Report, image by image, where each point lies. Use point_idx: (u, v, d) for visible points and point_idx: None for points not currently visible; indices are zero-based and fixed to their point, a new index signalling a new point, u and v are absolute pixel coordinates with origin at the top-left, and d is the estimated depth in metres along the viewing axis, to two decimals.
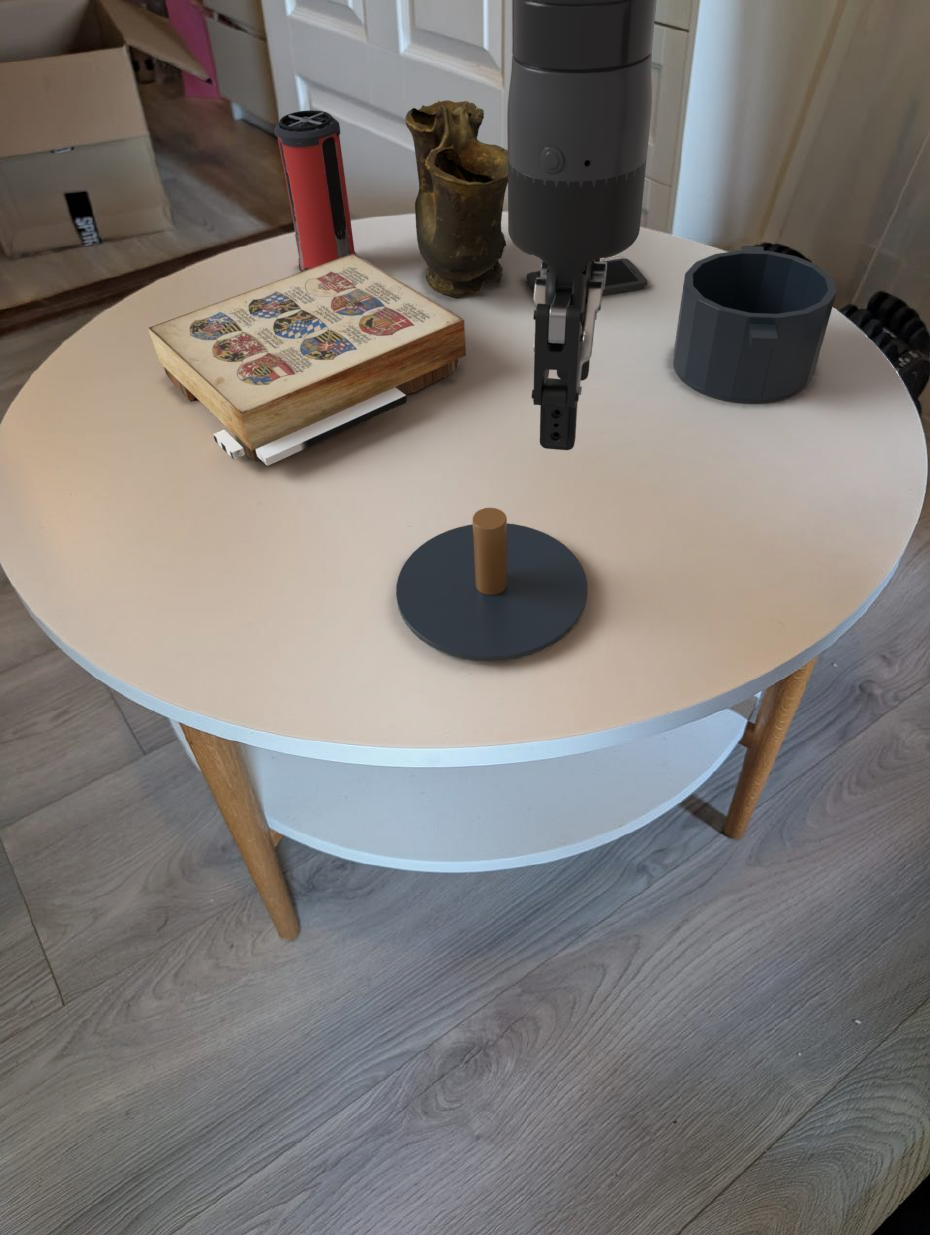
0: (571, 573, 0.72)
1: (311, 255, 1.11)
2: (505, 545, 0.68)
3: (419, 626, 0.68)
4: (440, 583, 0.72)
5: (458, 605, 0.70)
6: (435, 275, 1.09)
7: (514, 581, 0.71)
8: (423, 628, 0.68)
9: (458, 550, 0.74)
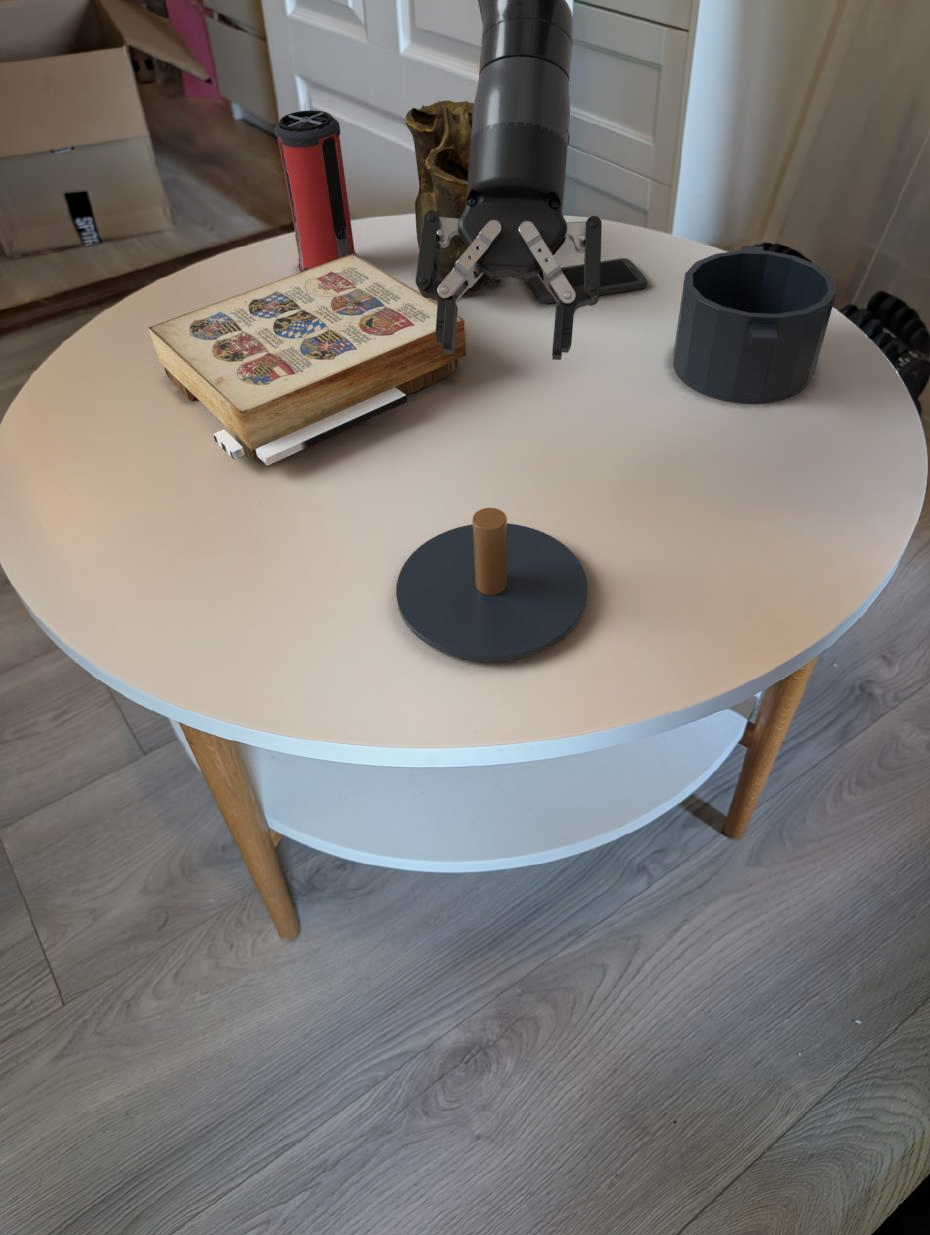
0: (571, 573, 0.72)
1: (311, 255, 1.11)
2: (505, 545, 0.68)
3: (419, 626, 0.68)
4: (440, 583, 0.72)
5: (458, 605, 0.70)
6: None
7: (514, 581, 0.71)
8: (423, 628, 0.68)
9: (458, 550, 0.74)
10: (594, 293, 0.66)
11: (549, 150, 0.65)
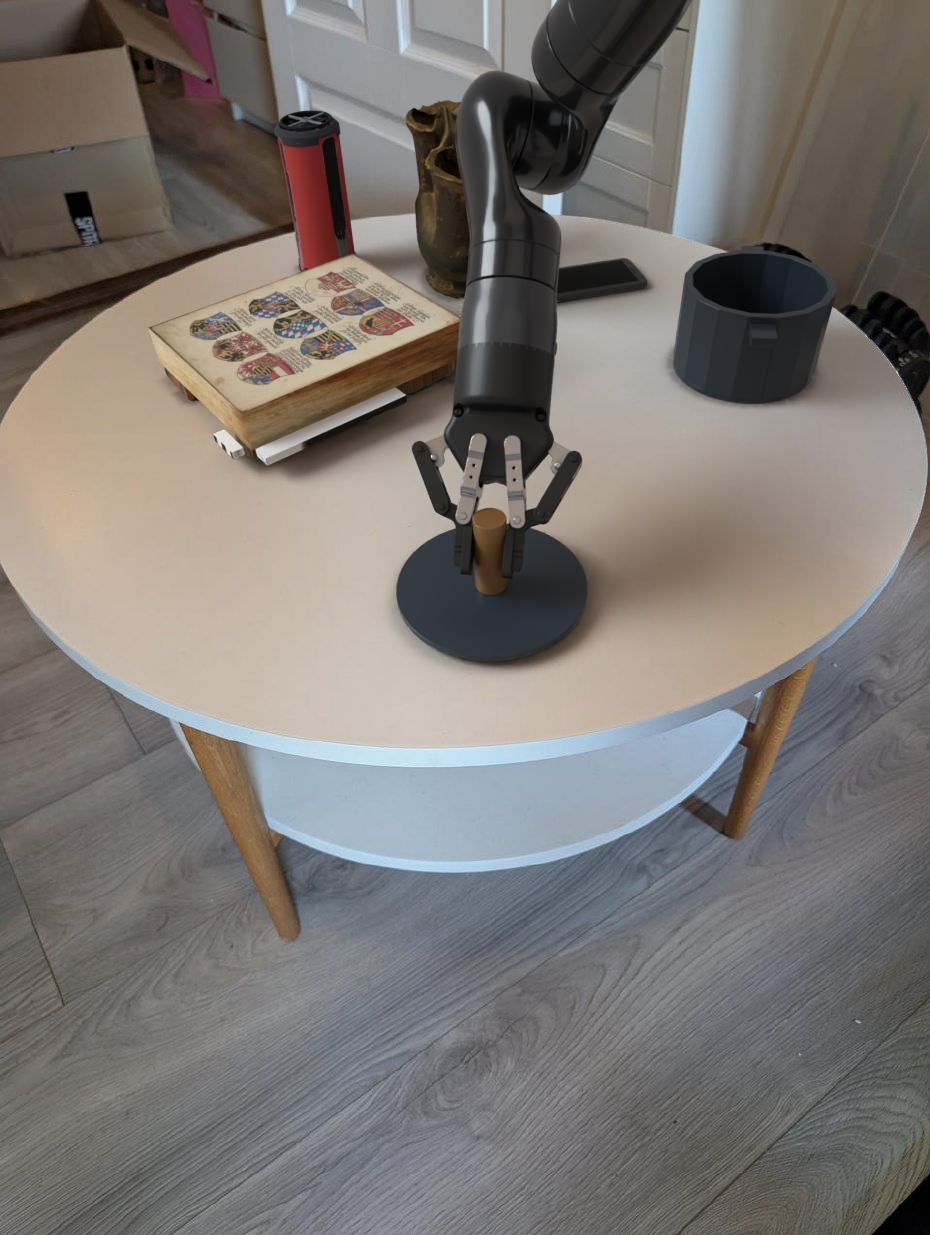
0: (571, 573, 0.72)
1: (311, 255, 1.11)
2: None
3: (419, 626, 0.68)
4: (440, 583, 0.72)
5: (458, 605, 0.70)
6: (435, 275, 1.09)
7: (514, 581, 0.71)
8: (423, 628, 0.68)
9: None
10: (540, 519, 0.66)
11: (534, 368, 0.64)
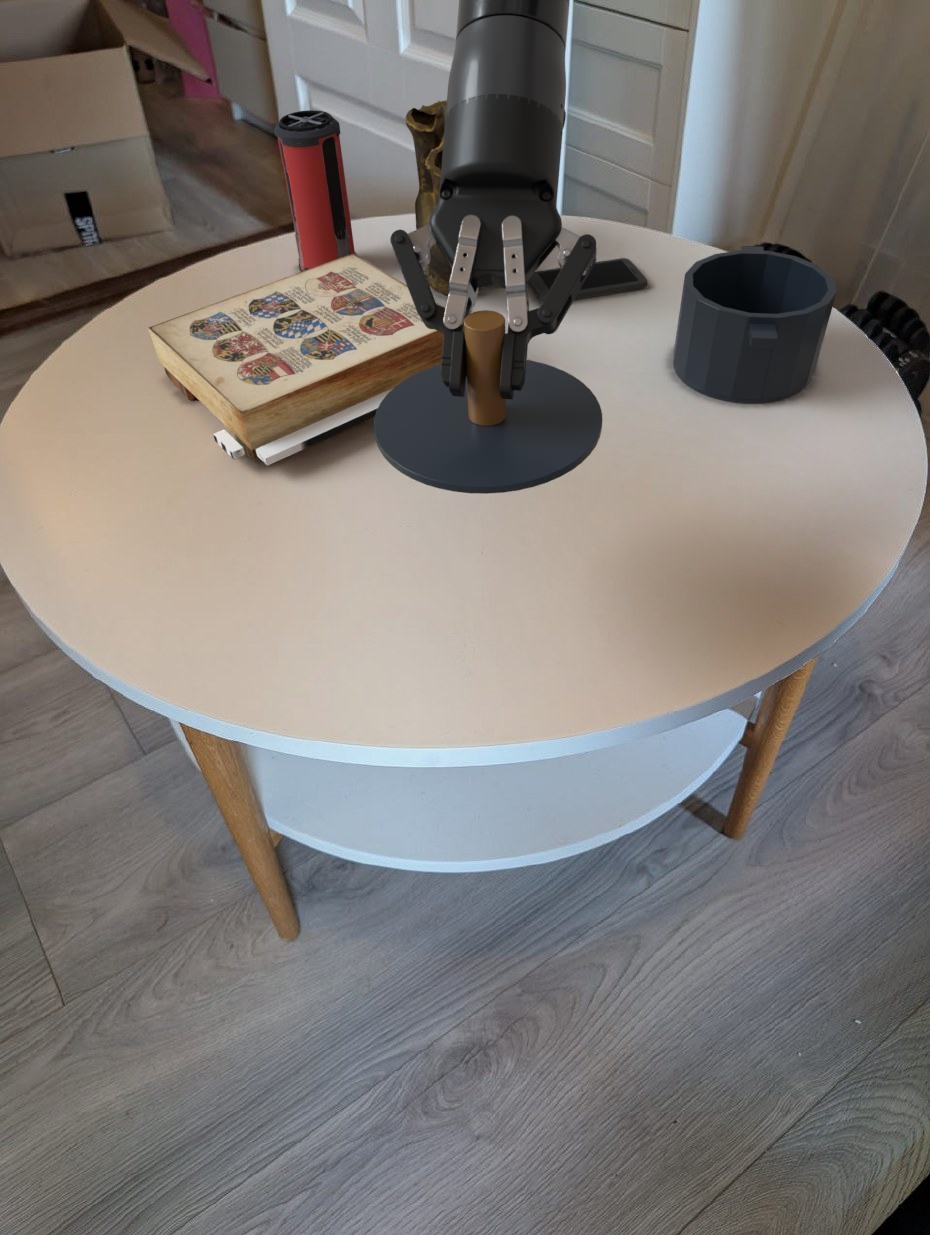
0: (583, 404, 0.60)
1: (311, 255, 1.11)
2: None
3: (400, 457, 0.57)
4: (426, 415, 0.60)
5: (447, 436, 0.58)
6: (435, 275, 1.09)
7: (515, 412, 0.60)
8: (405, 459, 0.57)
9: None
10: (546, 320, 0.54)
11: (538, 129, 0.53)
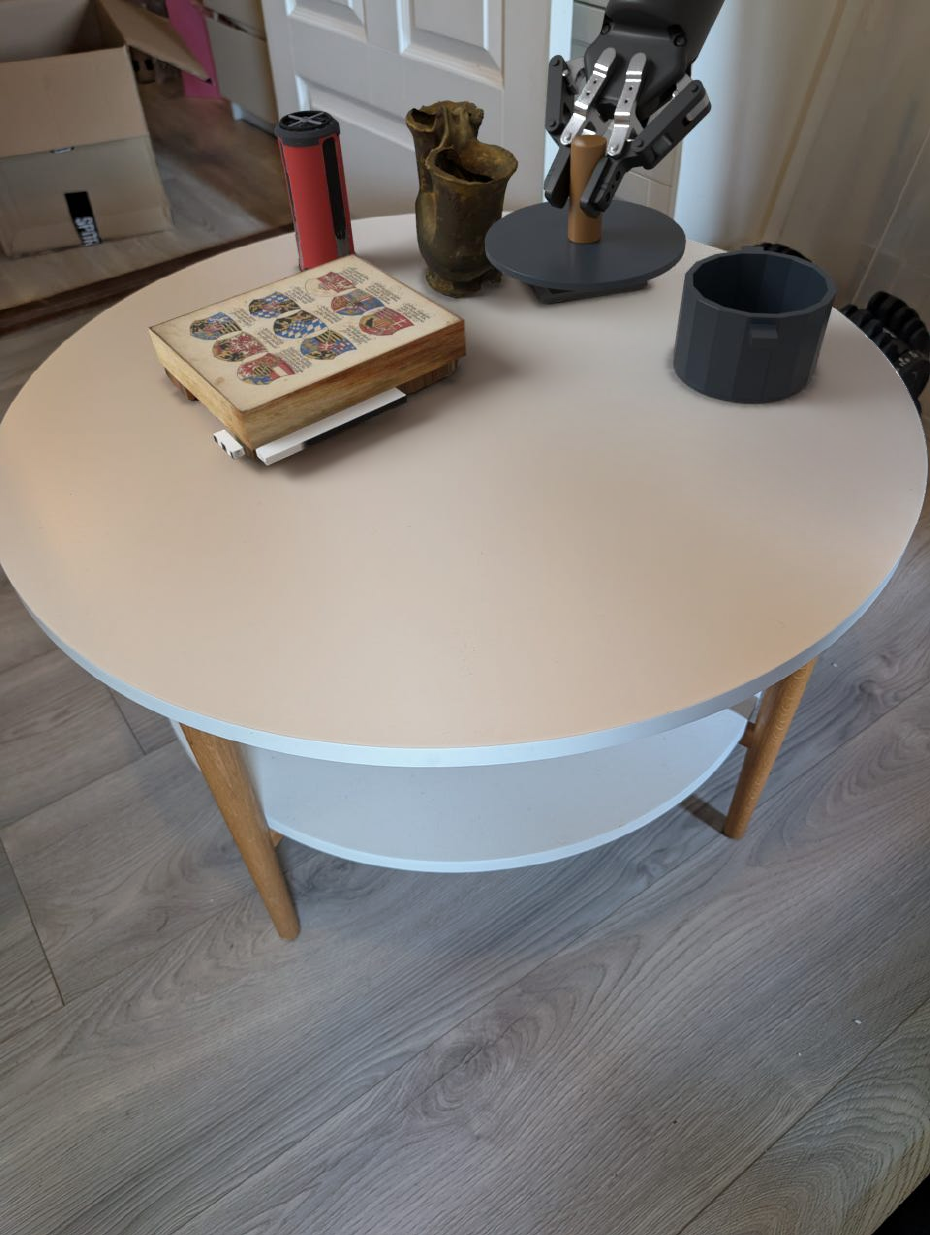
0: (668, 248, 0.66)
1: (311, 255, 1.11)
2: None
3: (492, 245, 0.68)
4: (539, 226, 0.70)
5: (540, 242, 0.68)
6: (435, 275, 1.09)
7: (608, 240, 0.68)
8: (494, 247, 0.68)
9: None
10: (636, 149, 0.62)
11: None
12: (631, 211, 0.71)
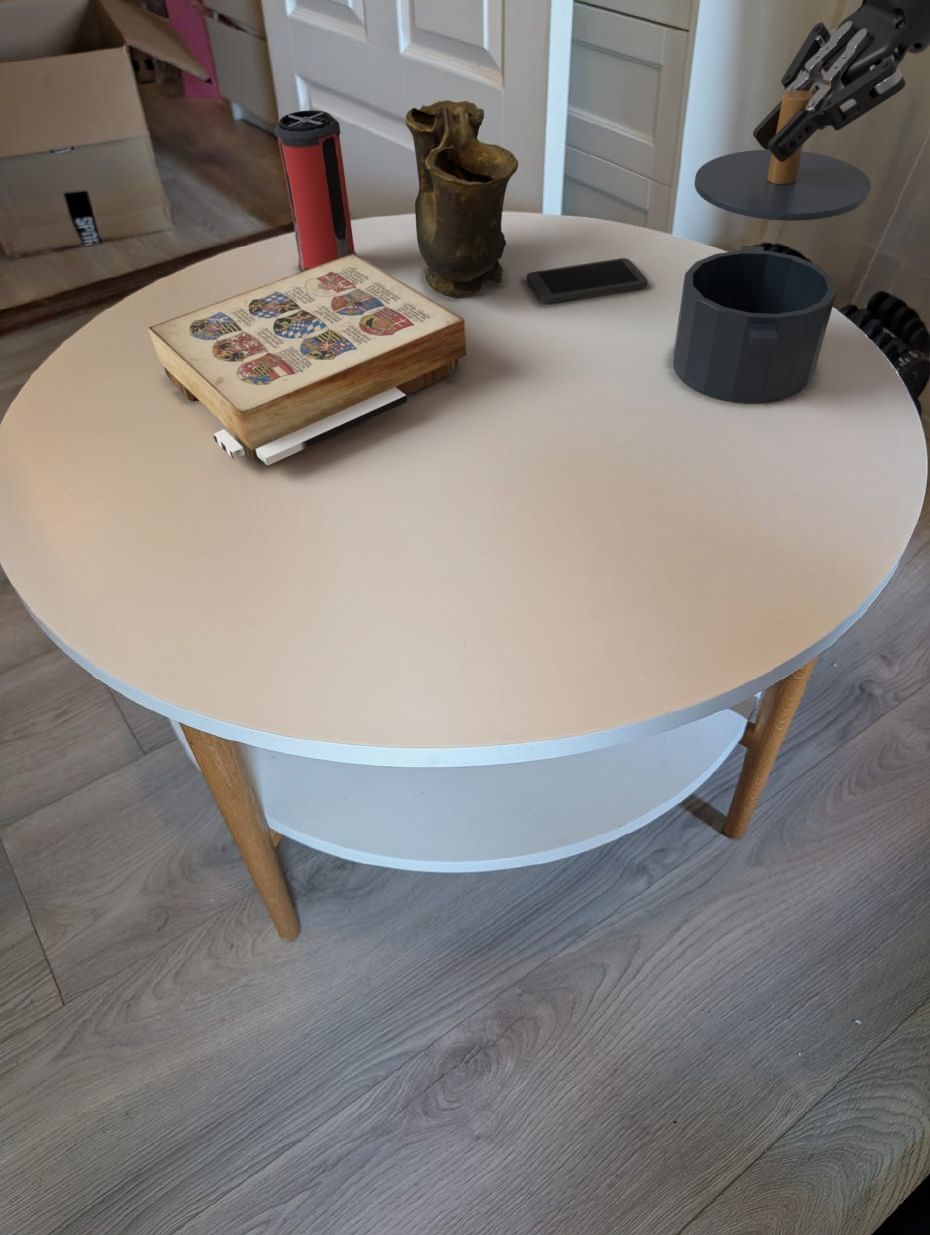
0: (834, 203, 0.77)
1: (311, 255, 1.11)
2: None
3: (706, 167, 0.84)
4: (758, 164, 0.84)
5: (743, 174, 0.82)
6: (435, 275, 1.09)
7: (796, 186, 0.80)
8: (705, 168, 0.83)
9: (803, 162, 0.83)
10: (823, 108, 0.73)
11: None
12: (845, 172, 0.81)
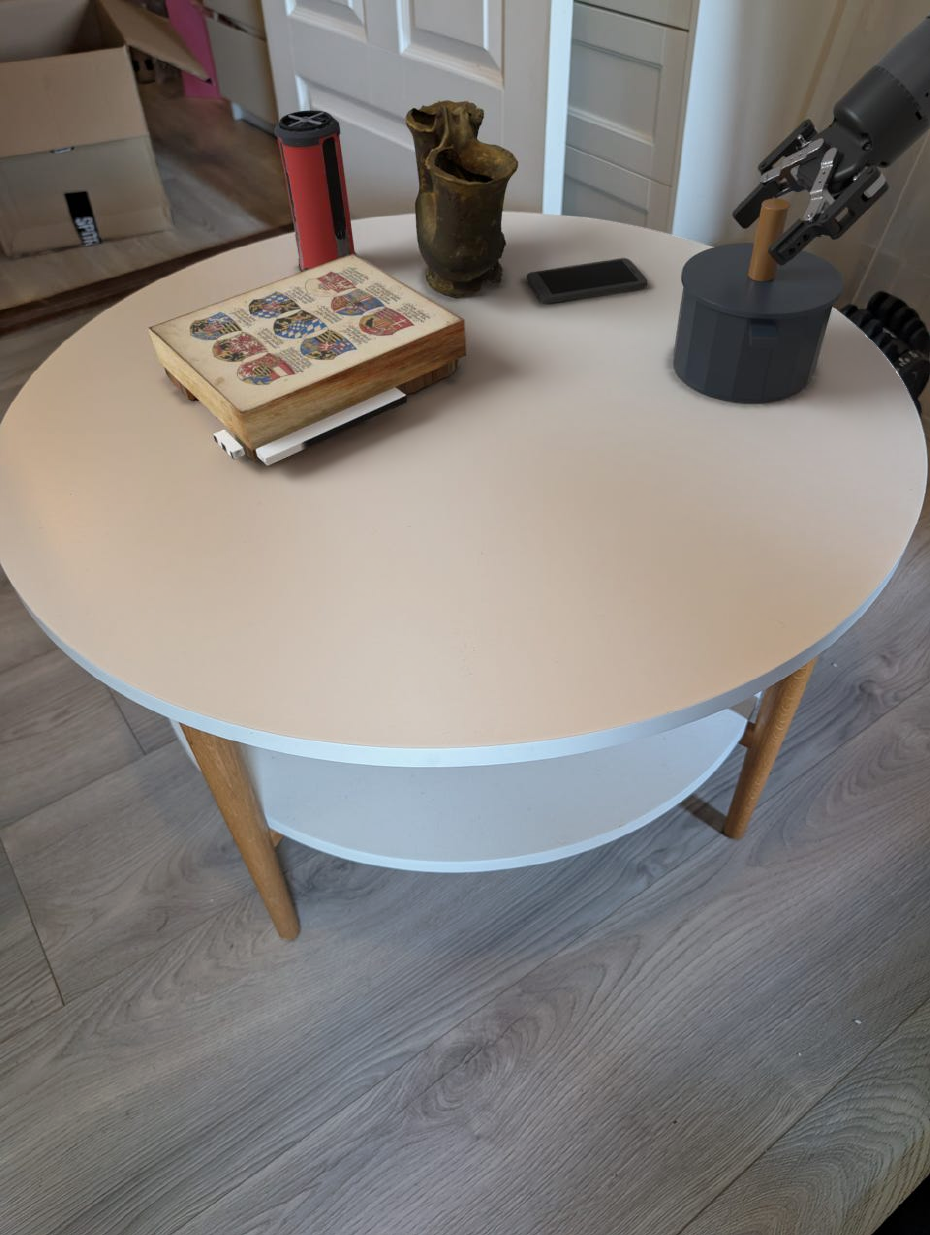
0: (809, 302, 0.83)
1: (311, 255, 1.11)
2: (773, 234, 0.83)
3: (692, 261, 0.90)
4: (740, 258, 0.90)
5: (726, 269, 0.89)
6: (435, 275, 1.09)
7: (774, 283, 0.86)
8: (691, 263, 0.90)
9: None
10: (822, 221, 0.77)
11: (886, 99, 0.75)
12: (820, 269, 0.88)
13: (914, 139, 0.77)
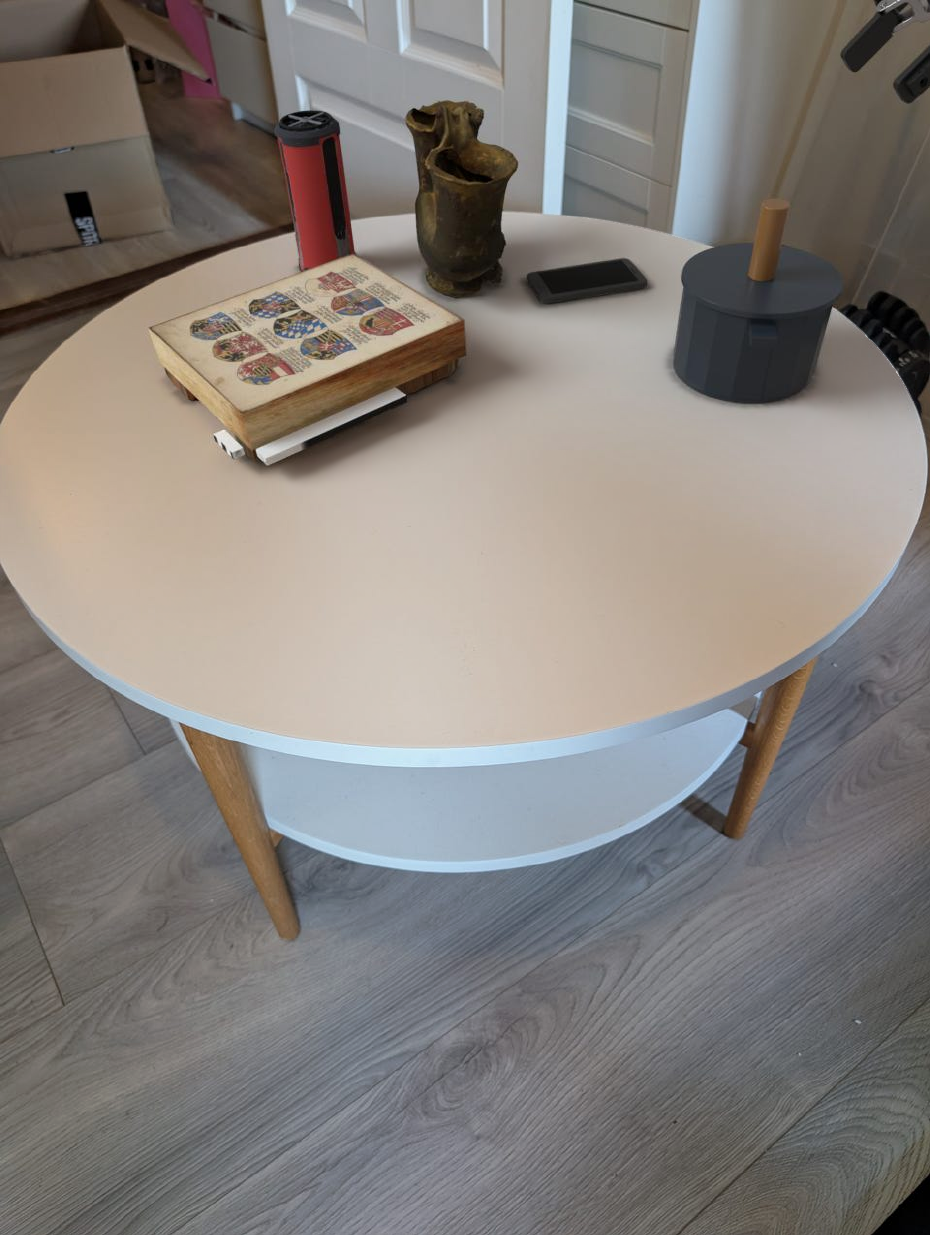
0: (809, 302, 0.83)
1: (311, 255, 1.11)
2: (773, 234, 0.83)
3: (692, 261, 0.90)
4: (740, 258, 0.90)
5: (726, 269, 0.89)
6: (435, 275, 1.09)
7: (774, 283, 0.86)
8: (691, 263, 0.90)
9: (782, 257, 0.90)
10: None
11: None
12: (820, 269, 0.88)
13: None
